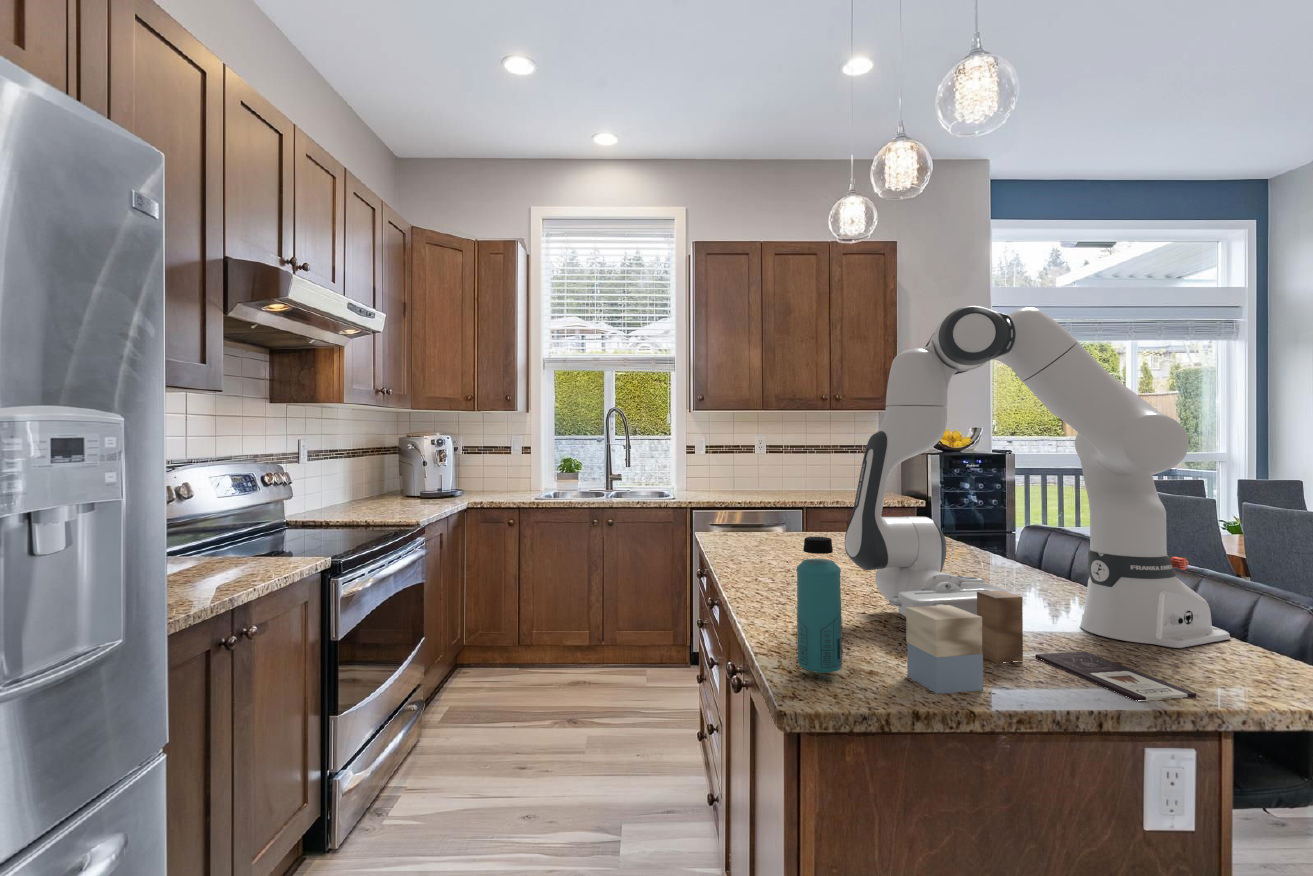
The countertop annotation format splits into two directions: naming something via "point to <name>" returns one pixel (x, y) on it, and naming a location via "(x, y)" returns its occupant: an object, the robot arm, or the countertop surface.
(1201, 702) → the countertop surface
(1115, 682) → the chocolate bar
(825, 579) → the beverage bottle
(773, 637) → the countertop surface
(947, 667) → the tower base
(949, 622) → the tower top
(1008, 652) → the pillar
